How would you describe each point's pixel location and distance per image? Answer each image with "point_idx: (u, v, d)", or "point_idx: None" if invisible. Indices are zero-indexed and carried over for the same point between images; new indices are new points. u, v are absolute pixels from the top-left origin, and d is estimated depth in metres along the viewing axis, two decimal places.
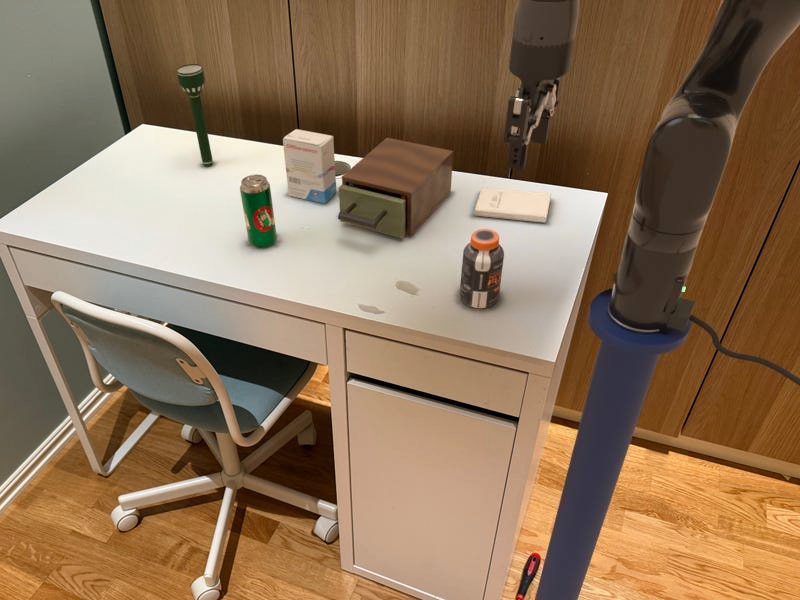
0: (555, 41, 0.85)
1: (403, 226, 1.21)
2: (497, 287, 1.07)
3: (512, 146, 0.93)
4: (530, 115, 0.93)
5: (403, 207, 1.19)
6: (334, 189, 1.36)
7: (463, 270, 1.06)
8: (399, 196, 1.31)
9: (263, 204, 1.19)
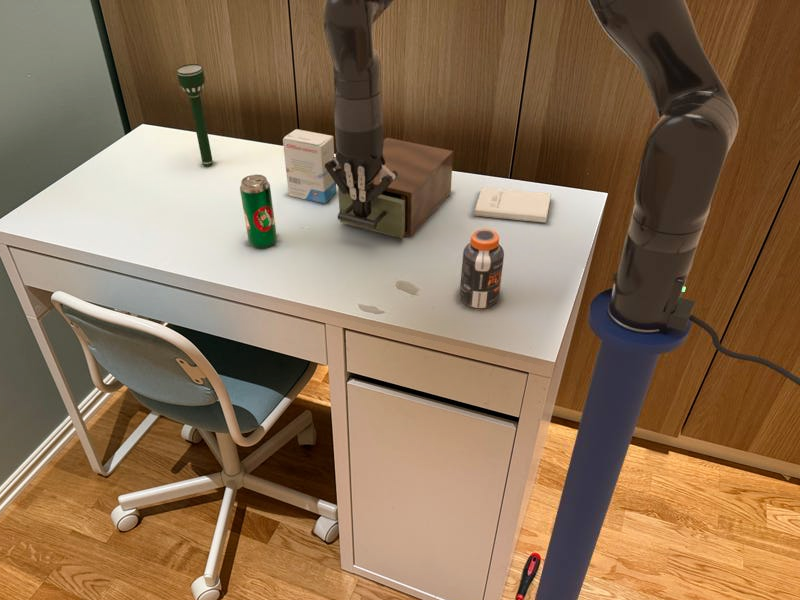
0: None
1: (402, 226, 1.21)
2: (497, 287, 1.07)
3: (367, 202, 1.18)
4: None
5: (403, 207, 1.19)
6: (334, 189, 1.36)
7: (463, 270, 1.06)
8: (399, 196, 1.31)
9: (263, 204, 1.19)
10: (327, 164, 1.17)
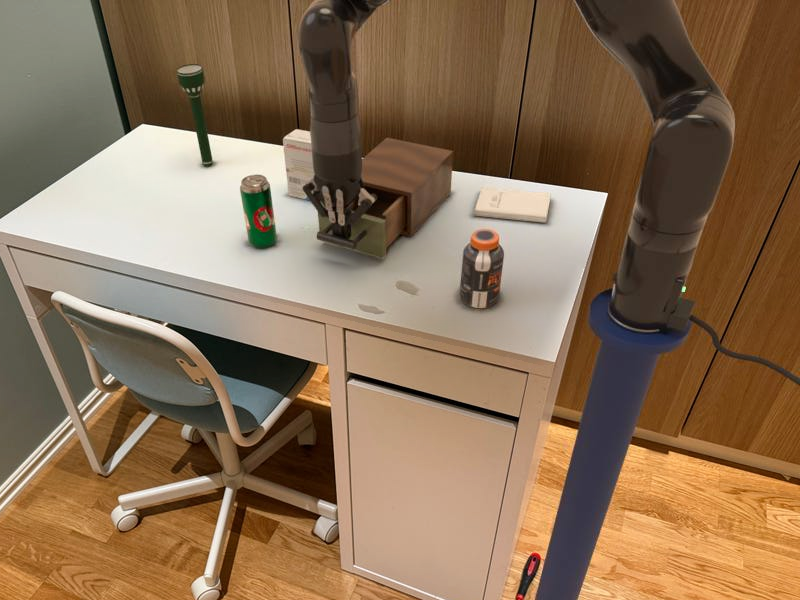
0: None
1: (383, 246, 1.17)
2: (497, 287, 1.07)
3: (346, 226, 1.14)
4: None
5: (383, 227, 1.15)
6: None
7: (463, 270, 1.06)
8: (381, 214, 1.27)
9: (263, 204, 1.19)
10: (305, 187, 1.13)
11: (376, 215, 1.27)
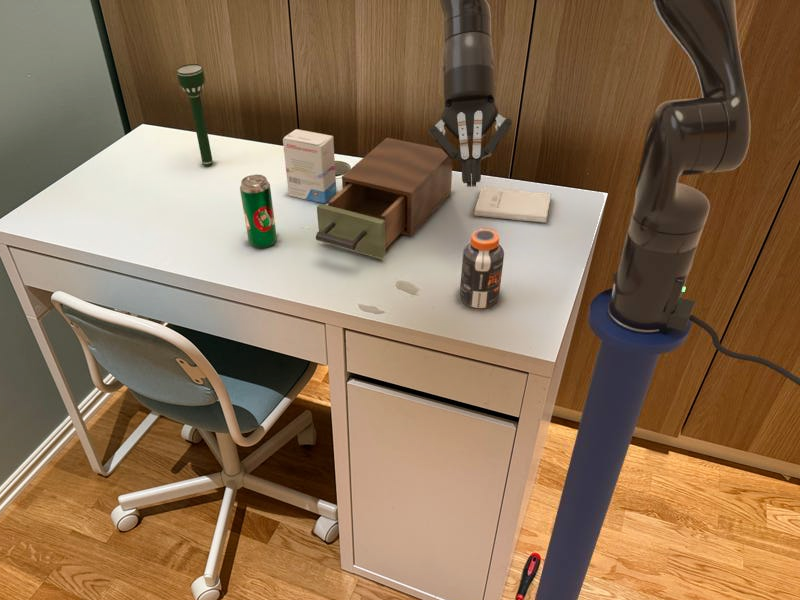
0: None
1: (383, 246, 1.17)
2: (497, 287, 1.07)
3: (480, 161, 1.08)
4: (486, 133, 1.09)
5: (383, 228, 1.15)
6: (334, 189, 1.36)
7: (463, 270, 1.06)
8: (381, 214, 1.27)
9: (263, 204, 1.19)
10: (432, 126, 1.09)
11: (375, 216, 1.26)
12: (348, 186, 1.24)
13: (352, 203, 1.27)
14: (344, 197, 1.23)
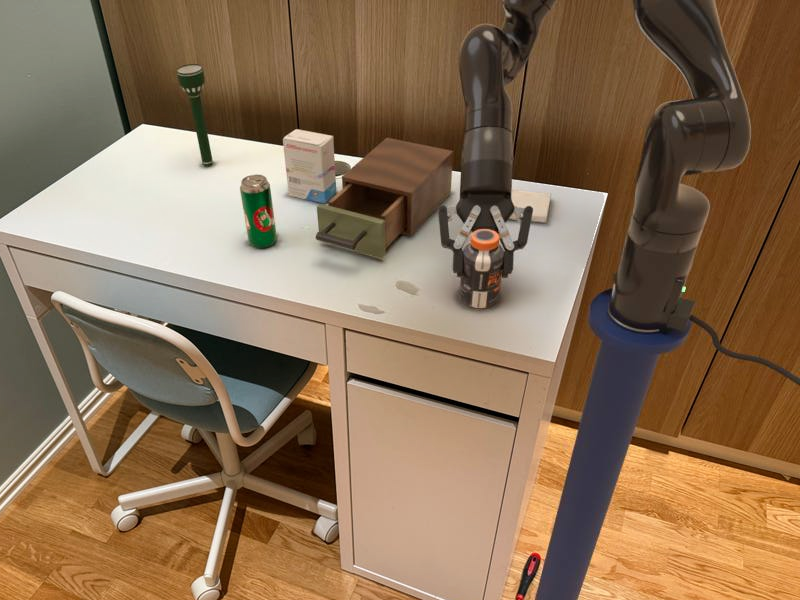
0: None
1: (383, 246, 1.17)
2: (497, 287, 1.07)
3: (513, 253, 1.04)
4: None
5: (383, 228, 1.15)
6: (334, 189, 1.36)
7: (463, 270, 1.06)
8: (381, 214, 1.27)
9: (263, 204, 1.19)
10: (443, 206, 1.06)
11: (375, 216, 1.26)
12: (348, 186, 1.24)
13: (352, 203, 1.27)
14: (344, 197, 1.23)
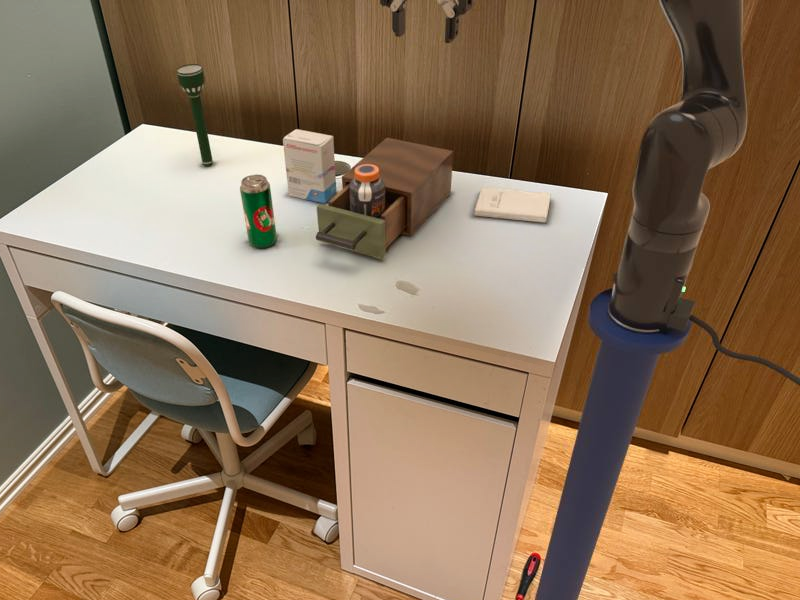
0: None
1: (383, 246, 1.17)
2: None
3: (456, 19, 1.06)
4: None
5: (383, 228, 1.15)
6: (334, 189, 1.36)
7: (350, 202, 1.19)
8: None
9: (263, 204, 1.19)
10: None
11: None
12: (348, 186, 1.24)
13: None
14: (344, 197, 1.23)
